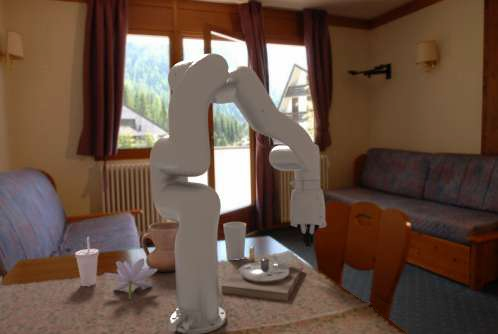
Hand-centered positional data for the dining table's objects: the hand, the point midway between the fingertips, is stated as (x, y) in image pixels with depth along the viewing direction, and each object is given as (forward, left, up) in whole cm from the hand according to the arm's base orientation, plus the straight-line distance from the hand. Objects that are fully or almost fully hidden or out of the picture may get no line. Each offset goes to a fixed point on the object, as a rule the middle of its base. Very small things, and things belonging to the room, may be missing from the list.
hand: (308, 245), depth 111 cm
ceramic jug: (-6, +45, -9) cm, 47 cm away
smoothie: (-25, +60, -9) cm, 66 cm away
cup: (+9, +27, -9) cm, 30 cm away
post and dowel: (-6, +14, -7) cm, 17 cm away
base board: (-9, +11, -9) cm, 17 cm away
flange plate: (-7, +10, -7) cm, 14 cm away
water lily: (-26, +44, -9) cm, 52 cm away
